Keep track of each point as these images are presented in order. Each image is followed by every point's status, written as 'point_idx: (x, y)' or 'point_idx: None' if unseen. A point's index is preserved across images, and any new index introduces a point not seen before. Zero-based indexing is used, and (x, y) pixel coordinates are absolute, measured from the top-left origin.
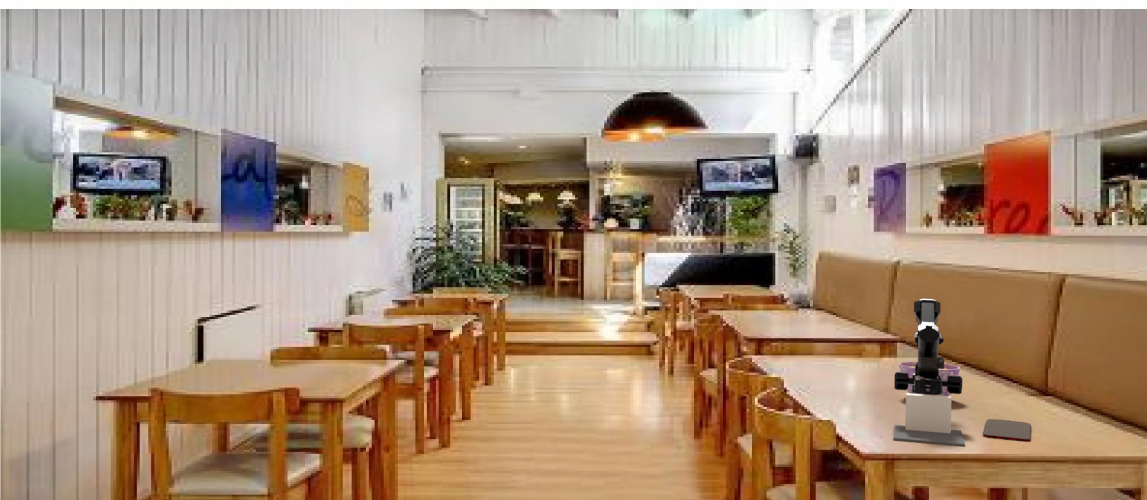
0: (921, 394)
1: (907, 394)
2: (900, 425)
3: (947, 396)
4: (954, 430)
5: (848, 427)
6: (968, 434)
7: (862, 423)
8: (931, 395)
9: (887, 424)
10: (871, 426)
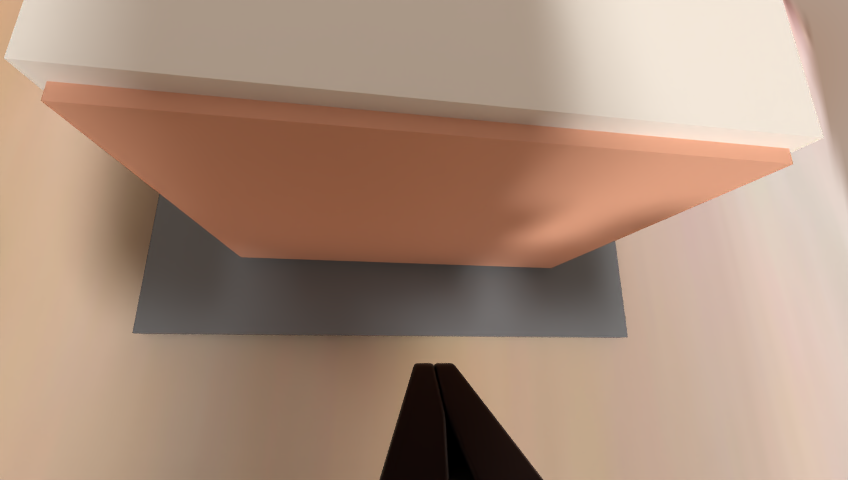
0: (590, 90)
1: (772, 24)
2: (588, 328)
3: (102, 17)
4: (195, 300)
5: (828, 205)
6: (95, 277)
7: (809, 370)
8: (421, 43)
9: (672, 415)
10: (739, 289)
